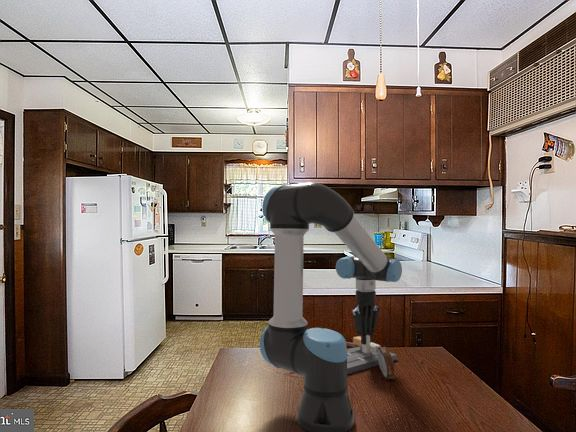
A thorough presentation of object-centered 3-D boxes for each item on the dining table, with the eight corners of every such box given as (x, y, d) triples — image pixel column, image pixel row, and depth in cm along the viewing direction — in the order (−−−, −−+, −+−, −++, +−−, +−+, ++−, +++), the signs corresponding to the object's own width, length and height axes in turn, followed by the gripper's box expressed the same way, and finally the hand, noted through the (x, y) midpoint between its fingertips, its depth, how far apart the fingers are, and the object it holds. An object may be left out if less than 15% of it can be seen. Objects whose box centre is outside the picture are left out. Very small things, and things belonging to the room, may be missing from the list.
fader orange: (363, 352, 148) (363, 341, 148) (352, 348, 153) (352, 337, 153) (370, 351, 150) (370, 339, 150) (359, 346, 155) (359, 335, 155)
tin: (395, 383, 125) (395, 357, 125) (385, 383, 125) (385, 357, 125) (385, 366, 140) (384, 343, 140) (376, 366, 140) (376, 343, 140)
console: (336, 377, 130) (336, 369, 130) (311, 363, 143) (311, 356, 143) (396, 359, 146) (396, 353, 146) (368, 349, 159) (368, 342, 159)
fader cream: (373, 359, 141) (373, 347, 141) (362, 354, 146) (362, 342, 146) (380, 357, 143) (380, 345, 143) (368, 352, 148) (368, 341, 148)
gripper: (359, 293, 137) (360, 358, 137) (385, 289, 144) (385, 351, 144) (346, 290, 143) (346, 352, 143) (370, 286, 150) (371, 346, 150)
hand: (366, 352), depth 143 cm, fingers closed
